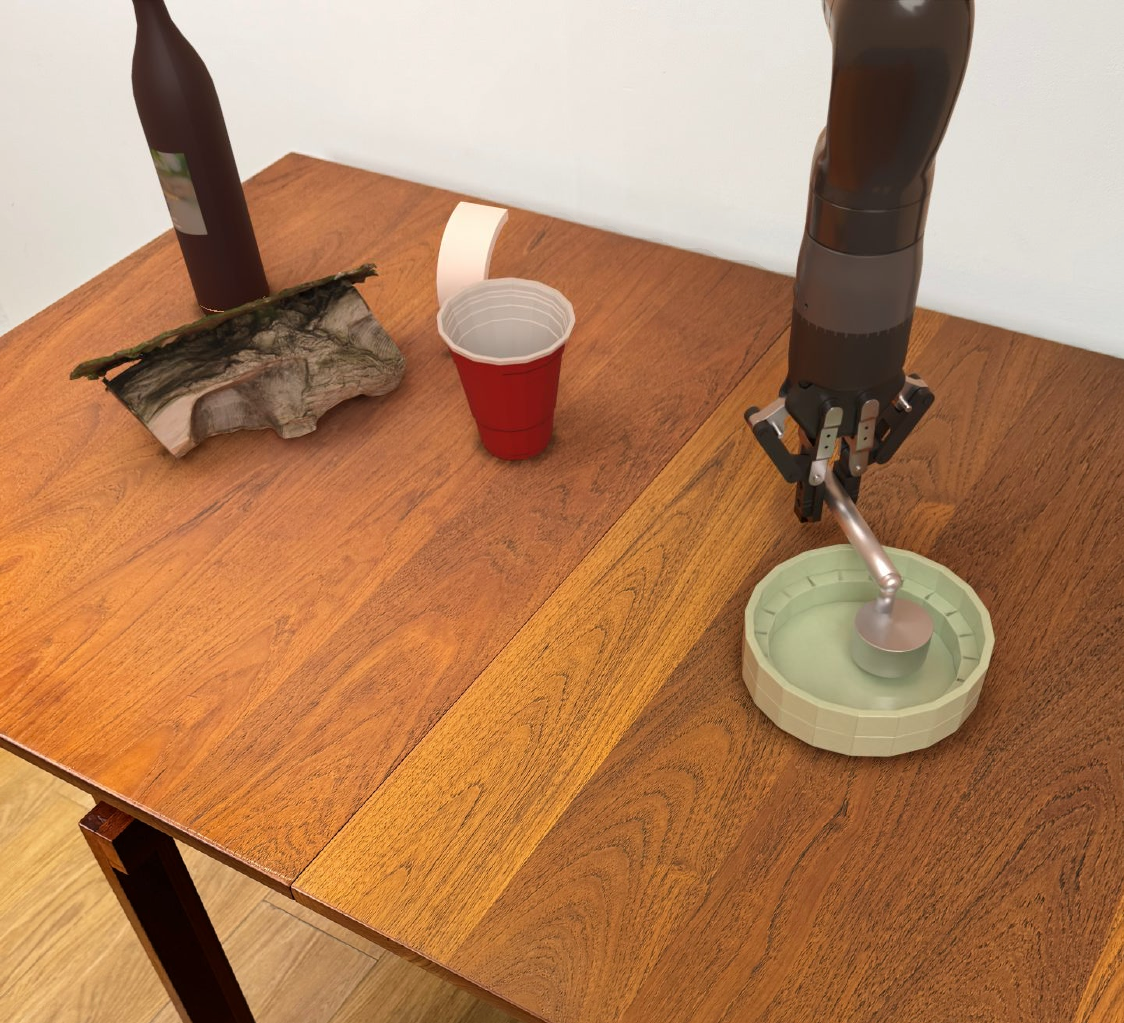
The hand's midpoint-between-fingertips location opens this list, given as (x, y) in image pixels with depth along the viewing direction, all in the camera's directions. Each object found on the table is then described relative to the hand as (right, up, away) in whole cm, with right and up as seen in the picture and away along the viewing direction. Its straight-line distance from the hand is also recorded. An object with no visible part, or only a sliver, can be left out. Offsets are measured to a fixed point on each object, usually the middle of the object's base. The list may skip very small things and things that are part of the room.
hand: (824, 511), depth 89 cm
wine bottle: (-52, +27, +31) cm, 66 cm away
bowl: (+1, -12, -5) cm, 13 cm away
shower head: (+1, -6, -1) cm, 6 cm away
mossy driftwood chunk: (-46, +12, +19) cm, 51 cm away
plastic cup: (-23, +9, +14) cm, 28 cm away
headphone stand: (-27, +20, +24) cm, 41 cm away
